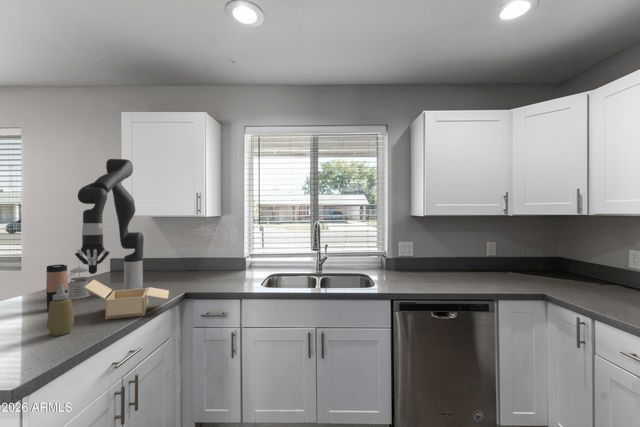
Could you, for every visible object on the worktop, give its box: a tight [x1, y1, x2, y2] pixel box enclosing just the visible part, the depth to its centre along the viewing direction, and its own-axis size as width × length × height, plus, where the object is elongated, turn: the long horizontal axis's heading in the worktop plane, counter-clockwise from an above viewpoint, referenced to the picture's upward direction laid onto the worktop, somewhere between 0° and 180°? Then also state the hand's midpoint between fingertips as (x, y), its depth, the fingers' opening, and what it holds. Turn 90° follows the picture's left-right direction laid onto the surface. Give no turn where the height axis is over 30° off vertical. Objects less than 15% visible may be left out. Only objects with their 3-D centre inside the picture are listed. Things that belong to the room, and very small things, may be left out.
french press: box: [67, 248, 91, 300], centre depth 180 cm, size 10×12×25 cm
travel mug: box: [46, 264, 68, 312], centre depth 156 cm, size 8×8×20 cm
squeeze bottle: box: [46, 284, 75, 337], centre depth 124 cm, size 8×8×18 cm
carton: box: [104, 287, 149, 320], centre depth 152 cm, size 23×14×8 cm, turn 22°
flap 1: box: [84, 279, 113, 300], centre depth 148 cm, size 17×1×9 cm
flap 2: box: [146, 286, 170, 300], centre depth 157 cm, size 17×1×9 cm
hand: (92, 273), depth 147 cm, fingers closed
